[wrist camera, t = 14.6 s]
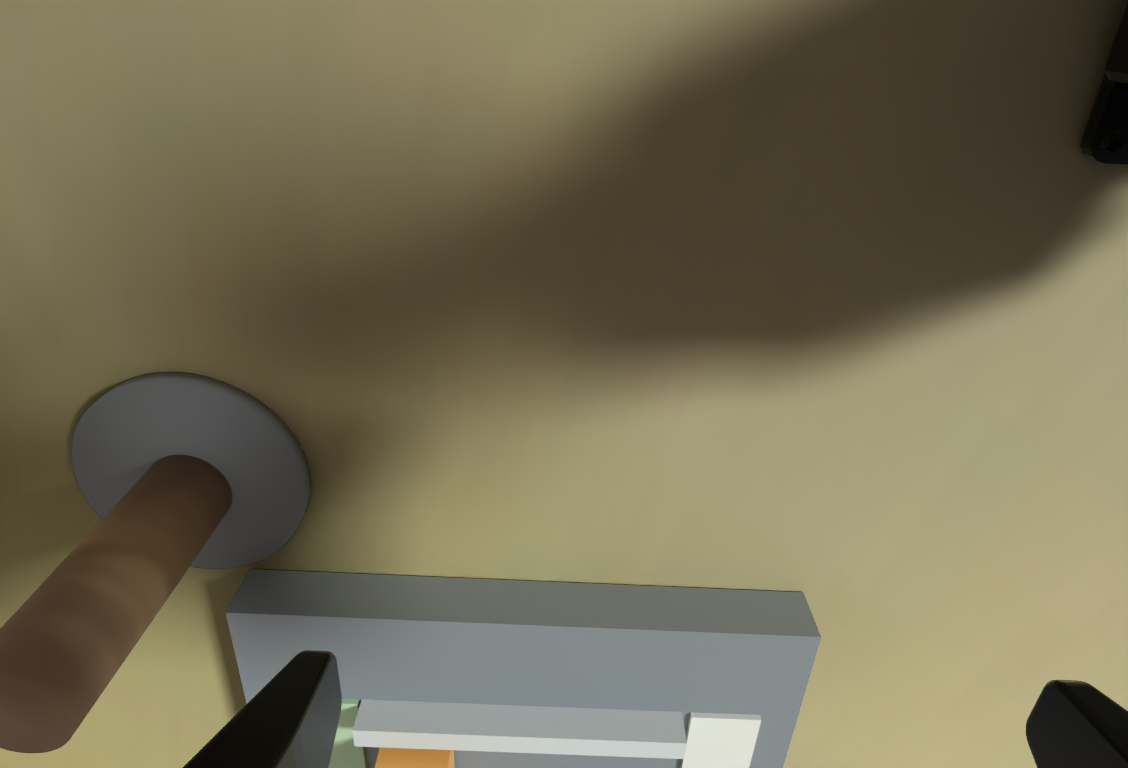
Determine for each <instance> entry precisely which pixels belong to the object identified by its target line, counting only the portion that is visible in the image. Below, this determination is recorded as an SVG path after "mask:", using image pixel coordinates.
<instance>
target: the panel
mask: <svg viewBox="0 0 1128 768" xmlns="http://www.w3.org/2000/svg"><path fill="white" fill-rule="evenodd" d="M225 613H226V618H227V622H228V626H229V630H230V635H231V639H232V643H233V648H234V652H235V656H236V661H237V665H238V669H239V674H240V678H241V682H242V686H243V691H244V695H245V699H246V704H247V703H248V702H249V701H250V700H251V699H252V698H253V697H254V696H255V695H256V694H257V693H258V692H259V691H260V690H261V689H262V688H263V687H264V686H265V685H266V684H267V683H268V682H270V681H271V680H272V679H273V678H274V677H275V676H276V675H277V674H278V673H279V672H280V671H281V670H282V669H283V668H284V667H285V666H286V665H287V664H288V663H289V662H290V661H291V660H292V659H293V658H294V657H295V656H296V655H297V654H298V653H300V652H302V651H306V650H312V651H330V652H333V653H334V655H335V656H336V659H337V666H338V673H339V680H340V687H341V694H342V706H341V713H340V718H339V723H338V727H337V732H336V736H335V741H334V745H333V750H332V754H331V759H330V763H329V768H375V764H376V760H377V756H378V752H379V748H380V747H383V748H409V749H435V750H454V767H455V768H783V765H784V761H785V758H786V754H787V751H788V748H789V744H790V741H791V737H792V734H793V731H794V727H795V724H796V720H797V717H798V713H799V710H800V707H801V703H802V700H803V696H804V693H805V690H806V686H807V683H808V679H809V676H810V673H811V669H812V666H813V662H814V659H815V656H816V652H817V649H818V645H819V642H820V638H821V636H820V634H819V631H818V629H817V626H816V623H815V621H814V618H813V616H812V613H811V611H810V608H809V606H808V603H807V601H806V598H805V596H804V593H803V592H786V591H762V590H738V589H714V588H690V587H666V586H642V585H619V584H595V583H571V582H547V581H523V580H499V579H475V578H451V577H428V576H404V575H380V574H356V573H332V572H308V571H284V570H260V569H250V570H249V572H248V574H247V576H246V577H245V579H244V581H243V583H242V584H241V586H240V588H239V590H238V591H237V593H236V595H235V597H234V598H233V600H232V602H231V604H230V605H229V607H228V609H227V611H226V612H225Z"/></svg>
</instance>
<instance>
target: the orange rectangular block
mask: <svg viewBox="0 0 1128 768" xmlns="http://www.w3.org/2000/svg"><path fill="white" fill-rule="evenodd" d="M375 768H455V767H454V750H435V749H409V748H383V747H380V748H379V752H378V756H377V760H376V764H375Z"/></svg>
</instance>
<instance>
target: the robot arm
mask: <svg viewBox="0 0 1128 768" xmlns="http://www.w3.org/2000/svg"><path fill="white" fill-rule="evenodd" d="M1105 70H1106V73H1105V76H1104V79H1103V82H1102V84H1101V87H1100V90H1099V93H1098V95H1097V98H1096V101H1095V104H1094V106H1093V109H1092V112H1091V115H1090V117H1089V120H1088V123H1087V126H1086V128H1085V131H1084V134H1083V137H1082V141H1081V150H1082V153H1083V154H1084V155H1085V156H1086V157H1087V158H1088V159H1092V160H1095V161H1098V162H1102V163H1110V164H1128V5H1127V8H1126V10H1125V13H1124V16H1123V19H1122V21H1121V24H1120V27H1119V30H1118V32H1117V35H1116V38H1115V41H1114V44H1113V46H1112V49H1111V52H1110V55H1109V57H1108V60H1107V63H1106V66H1105ZM1110 132H1112V133H1113V140H1112V141H1111V143H1110V144H1109V146H1107V147H1106V148H1104V149H1102V141H1103V139H1104V138H1105V136H1106V135H1108V134H1109V133H1110ZM341 706H342V694H341V687H340V680H339V673H338V666H337V659H336V656H335V655H334V653H333V652H330V651H312V650H306V651H302V652H300V653H298V654H297V655H296V656H295V657H294V658H293V659H292V660H291V661H290V662H289V663H288V664H287V665H286V666H285V667H284V668H283V669H282V670H281V671H280V672H279V673H278V674H277V675H276V676H275V677H274V678H273V679H272V680H271V681H270V682H268V683H267V684H266V685H265V686H264V687H263V688H262V689H261V690H260V691H259V692H258V693H257V694H256V695H255V696H254V697H253V698H252V699H251V700H250V701H249V702H248V703H247V704H246V705H245V706H244V707H243V708H242V709H241V710H240V711H239V712H238V713H237V714H236V715H235V716H234V717H233V718H232V719H231V720H230V721H229V722H228V723H227V724H226V725H225V726H224V727H223V728H222V729H221V730H220V731H219V732H218V733H217V734H216V735H215V736H214V737H213V738H212V739H211V740H210V741H209V742H208V743H207V744H206V745H205V746H204V747H203V748H202V749H201V750H200V751H199V752H198V753H197V754H196V755H195V756H194V757H193V758H192V759H191V760H190V761H189V762H188V763H187V764H186V765H185V766H184V767H183V768H329V763H330V759H331V754H332V750H333V745H334V741H335V736H336V732H337V727H338V723H339V718H340V713H341ZM1026 736H1027V741H1028V744H1029V747H1030V749H1031V752H1032V755H1033V757H1034V760H1035V763H1036V765H1037V768H1128V711H1127V710H1125V709H1124V708H1123V707H1121V706H1120V705H1118V704H1117V703H1116V702H1114V701H1113V700H1111V699H1110V698H1109V697H1107V696H1106V695H1104V694H1103V693H1102V692H1100V691H1099V690H1097V689H1096V688H1095V687H1093V686H1092V685H1090V684H1088V683H1086V682H1082V681H1072V680H1052V681H1050V682H1048V683H1047V684H1046V685H1045V687H1044V688H1043V690H1042V692H1041V694H1040V696H1039V698H1038V700H1037V702H1036V704H1035V706H1034V708H1033V710H1032V712H1031V714H1030V715H1029V717H1028V720H1027V723H1026Z"/></svg>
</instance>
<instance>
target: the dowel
mask: <svg viewBox="0 0 1128 768" xmlns="http://www.w3.org/2000/svg"><path fill="white" fill-rule="evenodd" d="M231 504H232V490H231V487H230V485H229V483H228V481H227V479H226V478H225V477H224V475H223V474H222V473H221V472H220V471H219V470H218V469H217V468H215V467H214V466H213V465H211V464H210V463H208V462H206V461H204V460H202V459H200V458H197V457H193V456H189V455H170V456H166V457H163V458H161V459H159V460H158V461H156V462H155V463H154V464H153V465H152V466H151V467H150V468H149V469H148V470H147V471H146V473H145V474H144V475H143V476H142V477H141V478H140V479H139V480H138V481H137V482H136V483H135V484H134V485H133V487H132V488H131V489H130V490H129V491H128V492H127V493H126V494H125V495H124V496H123V497H122V498H121V499H120V501H119V502H118V503H117V504H116V505H115V506H114V507H113V508H112V509H111V510H110V511H109V512H108V513H107V515H106V516H105V517H104V518H103V519H102V520H101V521H100V522H99V523H98V524H97V525H96V526H95V527H94V529H93V530H92V531H91V532H90V533H89V534H88V535H87V536H86V537H85V538H84V539H83V540H82V541H81V543H80V544H79V545H78V546H77V547H76V548H75V549H74V550H73V551H72V552H71V553H70V554H69V556H68V557H67V558H66V559H65V560H64V561H63V562H62V563H61V564H60V565H59V566H58V567H57V568H56V570H55V571H54V572H53V573H52V574H51V575H50V576H49V577H48V578H47V579H46V580H45V581H44V582H43V584H42V585H41V586H40V587H39V588H38V589H37V590H36V591H35V592H34V593H33V594H32V595H31V596H30V598H29V599H28V600H27V601H26V602H25V603H24V604H23V605H22V606H21V607H20V608H19V609H18V610H17V612H16V613H15V614H14V615H13V616H12V617H11V618H10V619H9V620H8V621H7V622H6V623H5V624H4V626H3V627H2V628H1V629H0V748H2V749H6V750H10V751H15V752H21V753H43V752H48V751H52V750H55V749H58V748H60V747H62V746H63V745H64V744H66V743H67V742H68V741H69V740H70V738H71V737H72V735H73V734H74V732H75V731H76V730H77V728H78V727H79V725H80V724H81V722H82V721H83V719H84V718H85V717H86V715H87V714H88V712H89V711H90V709H91V708H92V706H93V705H94V704H95V702H96V701H97V699H98V698H99V696H100V695H101V693H102V692H103V691H104V689H105V688H106V686H107V685H108V683H109V682H110V681H111V679H112V678H113V676H114V675H115V673H116V672H117V670H118V669H119V668H120V666H121V665H122V663H123V662H124V660H125V659H126V657H127V656H128V655H129V653H130V652H131V650H132V649H133V647H134V646H135V645H136V643H137V642H138V640H139V639H140V637H141V636H142V634H143V633H144V632H145V630H146V629H147V627H148V626H149V624H150V623H151V621H152V620H153V619H154V617H155V616H156V614H157V613H158V611H159V610H160V608H161V607H162V606H163V604H164V603H165V601H166V600H167V598H168V597H169V596H170V594H171V593H172V591H173V590H174V588H175V587H176V585H177V584H178V583H179V581H180V580H181V578H182V577H183V575H184V574H185V572H186V571H187V570H188V568H189V567H190V565H191V564H192V562H193V561H194V559H195V558H196V557H197V555H198V554H199V552H200V551H201V549H202V548H203V547H204V545H205V544H206V542H207V541H208V539H209V538H210V536H211V535H212V534H213V532H214V531H215V529H216V528H217V526H218V525H219V523H220V522H221V521H222V519H223V518H224V516H225V515H226V513H227V512H228V510H229V509H230V507H231Z"/></svg>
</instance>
